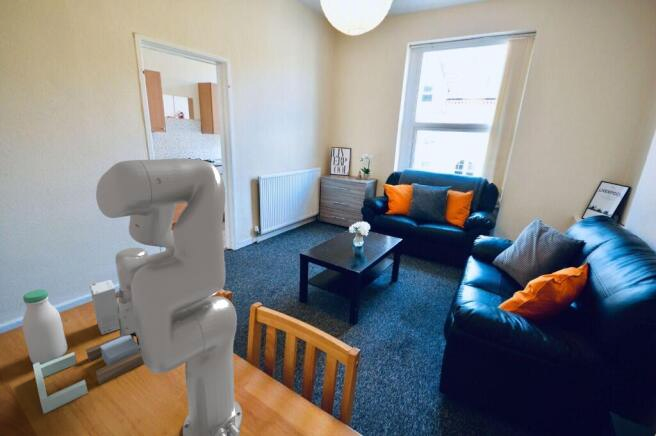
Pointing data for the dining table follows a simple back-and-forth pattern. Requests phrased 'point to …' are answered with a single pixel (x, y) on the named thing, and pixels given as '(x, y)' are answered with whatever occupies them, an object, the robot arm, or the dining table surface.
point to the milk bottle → (42, 328)
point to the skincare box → (105, 306)
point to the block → (119, 349)
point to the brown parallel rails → (114, 368)
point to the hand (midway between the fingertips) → (144, 345)
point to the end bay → (63, 395)
